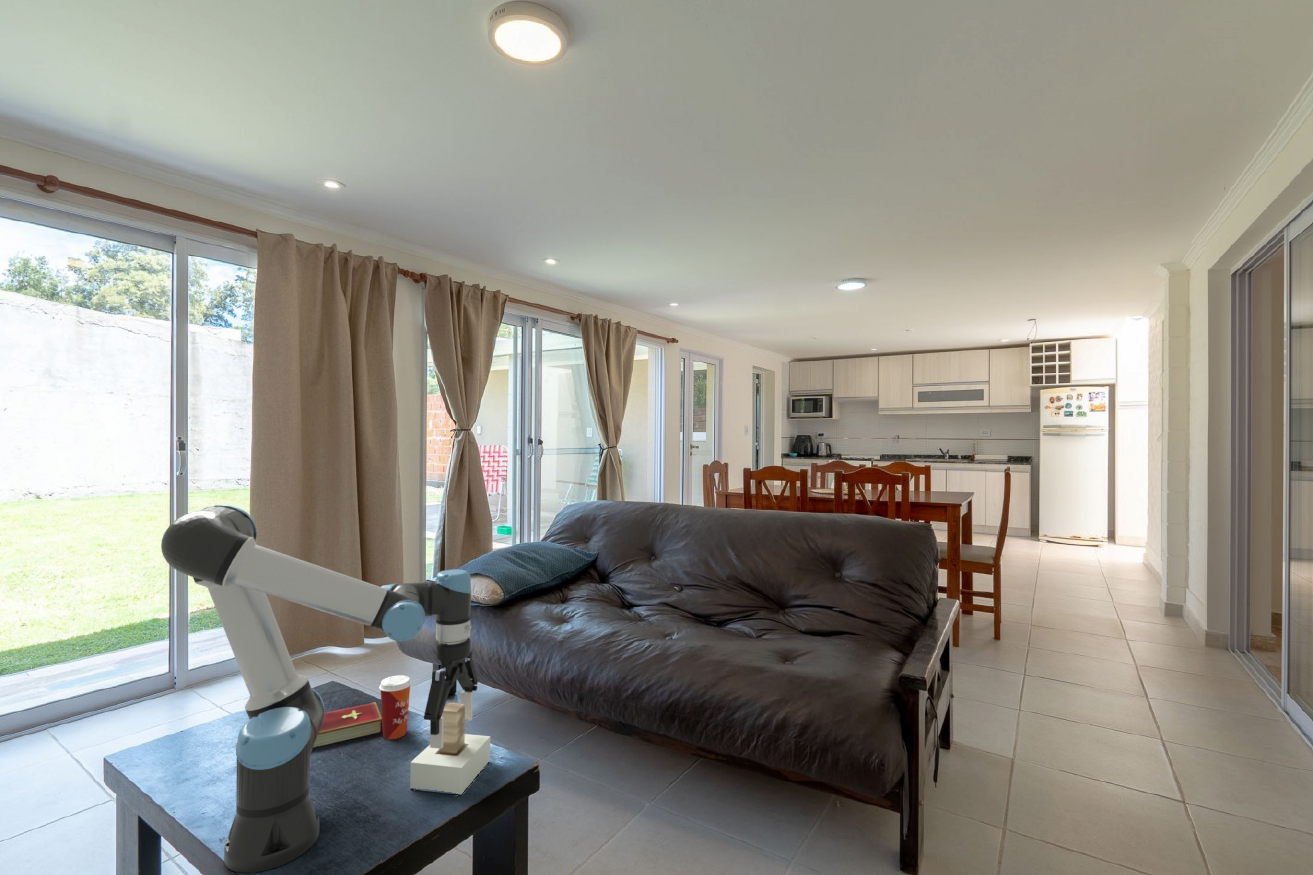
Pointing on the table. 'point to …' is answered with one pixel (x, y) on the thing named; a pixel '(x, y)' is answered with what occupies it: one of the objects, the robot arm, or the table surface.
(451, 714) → the maple peg
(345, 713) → the hardcover book
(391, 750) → the table surface
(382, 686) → the paper cup
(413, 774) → the socket block
